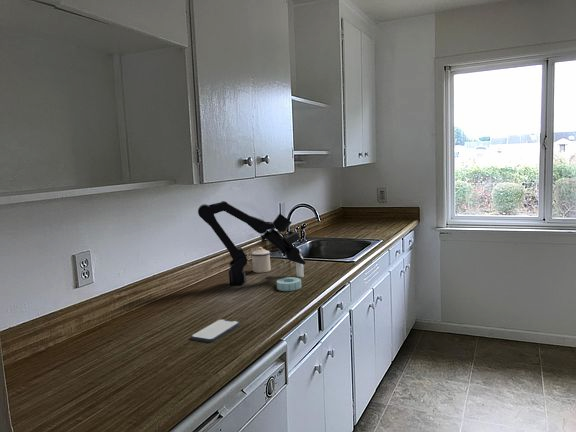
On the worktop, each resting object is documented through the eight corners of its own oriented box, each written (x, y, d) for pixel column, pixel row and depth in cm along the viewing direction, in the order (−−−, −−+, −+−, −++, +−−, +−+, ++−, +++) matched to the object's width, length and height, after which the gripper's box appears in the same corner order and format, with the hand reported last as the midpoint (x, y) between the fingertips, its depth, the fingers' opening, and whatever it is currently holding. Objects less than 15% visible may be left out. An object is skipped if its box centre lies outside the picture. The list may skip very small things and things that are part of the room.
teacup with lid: (273, 268, 235) (272, 245, 234) (267, 273, 227) (266, 249, 225) (250, 268, 239) (249, 245, 237) (244, 272, 230) (242, 249, 228)
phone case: (212, 345, 144) (241, 326, 158) (211, 340, 144) (241, 321, 158) (189, 341, 148) (220, 323, 162) (188, 336, 148) (219, 318, 162)
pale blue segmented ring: (274, 290, 196) (274, 283, 195) (280, 284, 205) (280, 277, 205) (298, 291, 193) (297, 283, 193) (303, 284, 203) (302, 277, 203)
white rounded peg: (296, 277, 215) (294, 250, 214) (297, 275, 218) (296, 248, 217) (303, 277, 215) (301, 250, 213) (304, 275, 218) (302, 248, 216)
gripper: (293, 229, 204) (319, 251, 207) (284, 223, 222) (308, 244, 225) (276, 249, 203) (302, 271, 207) (269, 242, 221) (293, 262, 225)
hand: (302, 261), depth 216 cm, fingers open, 9 cm apart
